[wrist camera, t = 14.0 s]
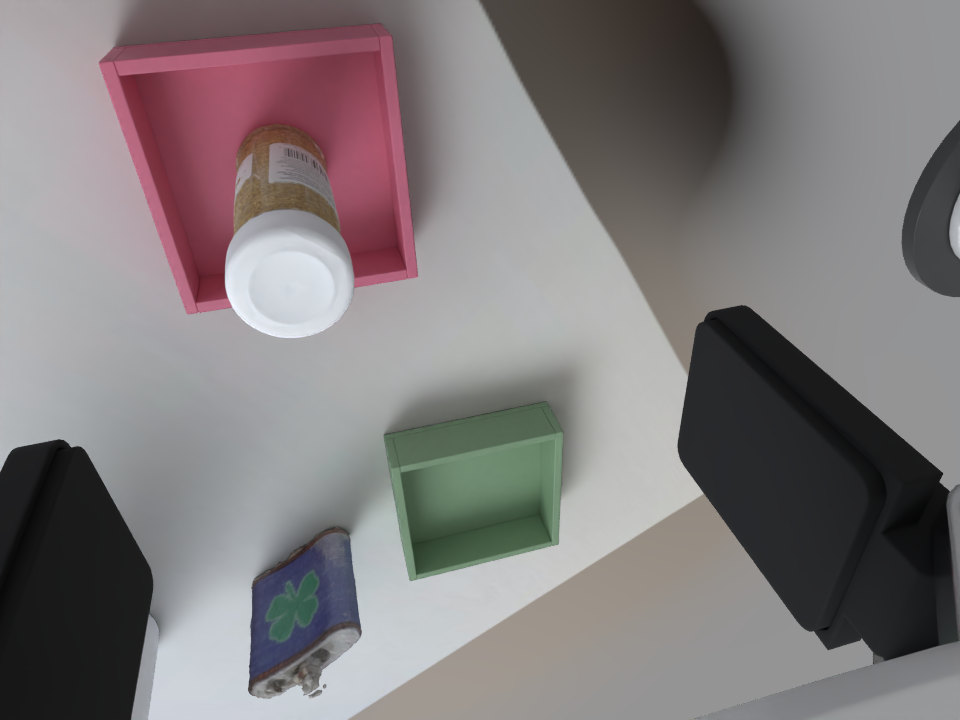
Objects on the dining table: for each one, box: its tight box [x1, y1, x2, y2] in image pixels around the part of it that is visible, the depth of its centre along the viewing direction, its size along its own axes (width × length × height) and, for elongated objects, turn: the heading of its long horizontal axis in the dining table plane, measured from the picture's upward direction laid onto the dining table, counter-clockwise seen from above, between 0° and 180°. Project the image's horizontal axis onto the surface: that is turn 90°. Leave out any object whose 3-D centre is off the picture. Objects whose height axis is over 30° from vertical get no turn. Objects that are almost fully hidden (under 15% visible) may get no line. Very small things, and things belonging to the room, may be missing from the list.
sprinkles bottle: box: [225, 124, 355, 338], centre depth 29 cm, size 5×4×14 cm
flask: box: [248, 527, 362, 699], centre depth 48 cm, size 9×3×11 cm, turn 123°
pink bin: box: [99, 23, 418, 314], centre depth 33 cm, size 12×12×4 cm
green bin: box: [384, 402, 563, 581], centre depth 50 cm, size 12×12×4 cm
